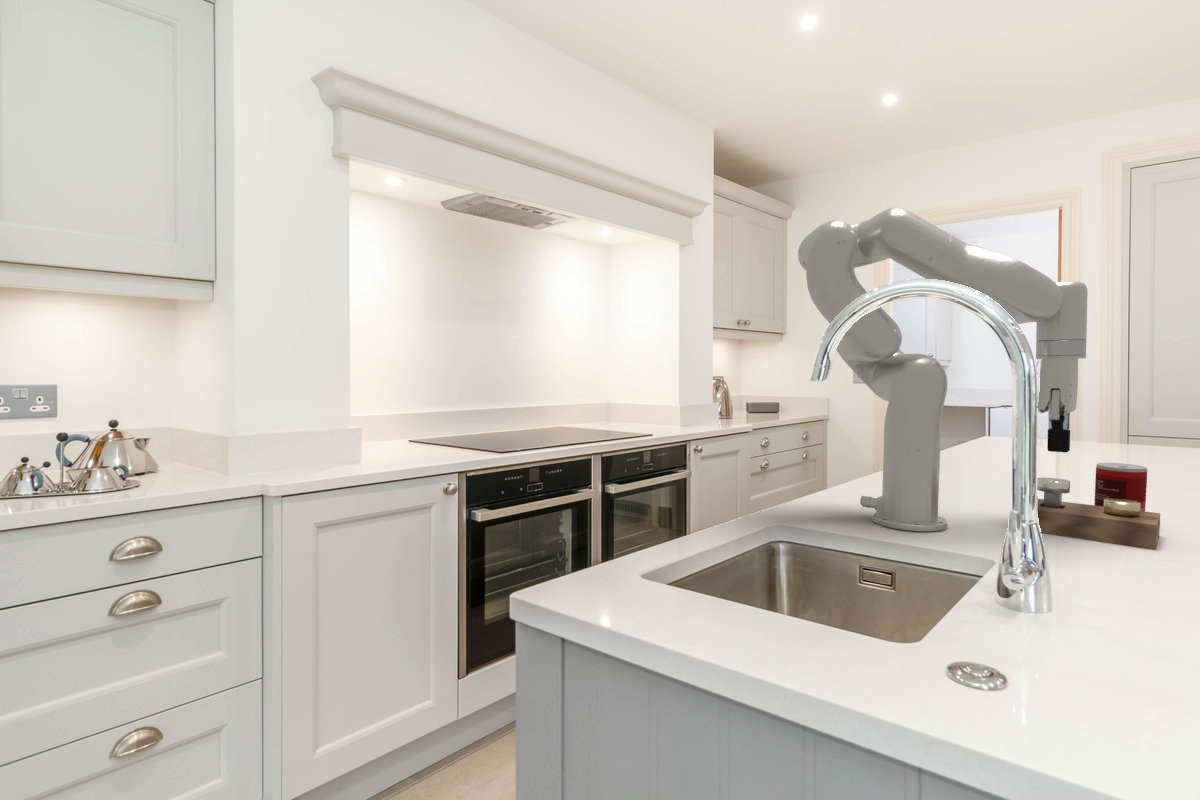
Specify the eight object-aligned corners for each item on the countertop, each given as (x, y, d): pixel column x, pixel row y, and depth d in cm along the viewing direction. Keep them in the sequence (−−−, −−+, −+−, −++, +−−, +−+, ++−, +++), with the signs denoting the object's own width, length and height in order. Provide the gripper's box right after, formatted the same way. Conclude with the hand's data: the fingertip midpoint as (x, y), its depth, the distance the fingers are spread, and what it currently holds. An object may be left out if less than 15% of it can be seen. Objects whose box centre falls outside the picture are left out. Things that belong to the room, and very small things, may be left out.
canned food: (1141, 521, 128) (1144, 464, 127) (1147, 530, 121) (1150, 470, 121) (1091, 516, 132) (1094, 461, 132) (1095, 524, 125) (1098, 466, 125)
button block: (1013, 528, 122) (1014, 506, 121) (1026, 517, 130) (1026, 497, 130) (1155, 549, 108) (1156, 525, 108) (1159, 535, 117) (1160, 513, 117)
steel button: (1033, 512, 122) (1035, 479, 122) (1038, 508, 126) (1040, 476, 126) (1066, 516, 119) (1068, 483, 119) (1070, 512, 123) (1072, 479, 122)
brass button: (1100, 535, 116) (1102, 501, 115) (1103, 530, 119) (1105, 497, 119) (1137, 540, 112) (1139, 505, 112) (1139, 535, 116) (1141, 501, 116)
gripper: (1043, 351, 129) (1041, 445, 130) (1028, 351, 118) (1026, 454, 119) (1091, 350, 124) (1088, 448, 125) (1080, 350, 113) (1077, 457, 114)
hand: (1058, 451), depth 122 cm, fingers closed
